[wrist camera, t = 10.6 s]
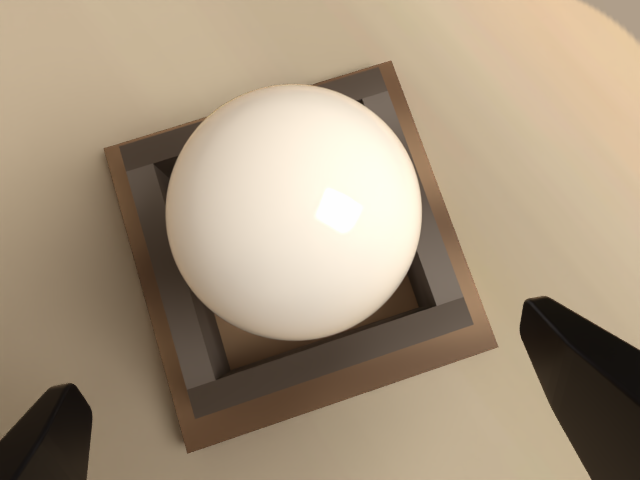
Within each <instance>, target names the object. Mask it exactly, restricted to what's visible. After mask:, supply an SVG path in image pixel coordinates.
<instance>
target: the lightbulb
mask: <svg viewBox="0 0 640 480" xmlns="http://www.w3.org/2000/svg"><path fill="white" fill-rule="evenodd" d="M165 221H166V231H167V237H168V242H169V246H170V249H171V252H172V255H173V258H174V261H175V263H176V265H177V267H178V269H179V272H180V273H181V275H182V277H183V279H184V280H185V282H186V283H187V285H188V286H189V288H190V289H191V290H192V292H193V293H194V294H195V295H196V296H197V298H198V299H199V300H200V301H201V302H202V303H203V304H204V305H205V306H206V307H207V308H209V309H210V310H211V311H212V312H213V313H215V314H216V315H217V316H219V317H220V318H221V319H223V320H224V321H226V322H228V323H229V324H231V325H233V326H235V327H237V328H239V329H241V330H243V331H245V332H248V333H251V334H254V335H257V336H260V337H264V338H269V339H274V340H282V341H306V340H315V339H320V338H325V337H329V336H332V335H335V334H338V333H341V332H343V331H346V330H348V329H350V328H352V327H354V326H356V325H357V324H359V323H361V322H362V321H364V320H365V319H367V318H368V317H370V316H371V315H372V314H374V313H375V312H376V311H377V310H378V309H380V308H381V307H382V306H383V305H384V304H385V303H386V302H387V301H388V300H389V298H390V297H391V296H392V295H393V294H394V292H395V291H396V290H397V288H398V287H399V286H400V284H401V283H402V281H403V279H404V278H405V276H406V274H407V272H408V270H409V268H410V266H411V264H412V262H413V259H414V256H415V254H416V250H417V247H418V243H419V239H420V233H421V225H422V200H421V192H420V187H419V182H418V178H417V175H416V172H415V169H414V166H413V164H412V161H411V159H410V157H409V155H408V153H407V151H406V149H405V148H404V146H403V144H402V143H401V141H400V140H399V138H398V137H397V136H396V134H395V133H394V132H393V131H392V129H391V128H390V127H389V126H388V125H387V124H386V123H385V122H384V121H383V120H382V119H381V118H380V117H379V116H378V115H376V114H375V113H374V112H373V111H371V110H370V109H369V108H367V107H366V106H364V105H363V104H361V103H359V102H358V101H356V100H354V99H352V98H350V97H348V96H346V95H344V94H341V93H339V92H336V91H333V90H330V89H326V88H323V87H318V86H312V85H303V84H283V85H274V86H268V87H264V88H260V89H256V90H253V91H250V92H247V93H245V94H243V95H240V96H238V97H236V98H234V99H232V100H230V101H229V102H227V103H225V104H224V105H222V106H221V107H219V108H218V109H217V110H215V111H214V112H213V113H212V114H210V115H209V116H208V117H207V118H206V119H205V120H204V121H203V122H202V123H201V124H200V125H199V126H198V127H197V128H196V130H195V131H194V132H193V133H192V135H191V136H190V137H189V139H188V140H187V142H186V143H185V145H184V146H183V148H182V150H181V152H180V154H179V156H178V158H177V160H176V162H175V164H174V167H173V170H172V173H171V176H170V180H169V184H168V189H167V195H166V205H165Z"/></svg>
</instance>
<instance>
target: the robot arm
mask: <svg viewBox="0 0 640 480" xmlns="http://www.w3.org/2000/svg"><path fill="white" fill-rule="evenodd" d="M520 335H521V339H522V341H523V343H524V346H525V348H526V350H527V353H528V355H529V358H530V360H531V362H532V365H533V367H534V369H535V372H536V374H537V376H538V379H539V381H540V383H541V386H542V388H543V390H544V393H545V395H546V397H547V399H548V402H549V404H550V406H551V408H552V410H553V412H554V414H555V416H556V417H557V419H558V421H559V423H560V425H561V426H562V428H563V430H564V432H565V433H566V435H567V437H568V439H569V441H570V442H571V444H572V446H573V448H574V449H575V451H576V453H577V455H578V456H579V458H580V460H581V462H582V464H583V465H584V467H585V469H586V471H587V472H588V474H589V476H590V478H591V480H640V350H639V349H637V348H636V347H634V346H632V345H630V344H629V343H627V342H625V341H624V340H622V339H620V338H618V337H617V336H615V335H613V334H611V333H610V332H608V331H606V330H605V329H603V328H601V327H599V326H598V325H596V324H594V323H593V322H591V321H589V320H587V319H586V318H584V317H582V316H581V315H579V314H577V313H575V312H574V311H572V310H570V309H568V308H567V307H565V306H563V305H562V304H560V303H558V302H556V301H555V300H553V299H551V298H549V297H547V296H540V297H535V298H529V299H527V300H525V302H524V304H523V310H522V316H521V322H520ZM91 429H92V411H91V408H90V406H89V405H88V403H87V401H86V400H85V398H84V397H83V395H82V394H81V392H80V391H79V389H78V388H77V386H76V385H74V384H72V383H67V384H62V385H57V386H53V387H50V388H49V389H48V390H47V391H46V392H45V393H44V394H43V395H42V396H41V397H40V398H39V399H38V400H37V401H36V403H35V404H34V405H33V406H32V407H31V408H30V409H29V410H28V411H27V412H26V413H25V414H24V416H23V417H22V418H21V419H20V420H19V421H18V422H17V423H16V424H15V425H14V426H13V427H12V429H11V430H10V431H9V432H8V433H7V434H6V435H5V436H4V437H3V438H2V439H1V440H0V480H87V470H88V460H89V450H90V439H91Z"/></svg>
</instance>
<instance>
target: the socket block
mask: <svg viewBox="0 0 640 480" xmlns="http://www.w3.org/2000/svg"><path fill="white" fill-rule="evenodd" d="M312 86H318V87H323V88H326V89H330V90H333V91H336V92H339V93H341V94H344V95H346V96H348V97H350V98H352V99H354V100H356V101H358V102H359V103H361V104H363V105H364V106H366V107H367V108H369V109H370V110H371V111H373V112H374V113H375V114H376V115H378V116H379V117H380V118H381V119H382V120H383V121H384V122H385V123H386V124H387V125H388V126H389V127H390V128H391V129H392V131H393V132H394V133H395V134H396V136H397V137H398V138H399V140H400V141H401V143H402V144H403V146H404V148H405V149H406V151H407V153H408V155H409V157H410V159H411V161H412V164H413V166H414V169H415V172H416V175H417V178H418V182H419V187H420V192H421V200H422V225H421V233H420V239H419V243H418V247H417V250H416V254H415V256H414V259H413V262H412V264H411V266H410V268H409V270H408V272H407V274H406V276H405V278H404V279H403V281H402V283H401V284H400V286H399V287H398V288H397V290H396V291H395V292H394V294H393V295H392V296H391V297H390V298H389V300H388V301H387V302H386V303H385V304H384V305H383V306H382V307H381V308H380V309H378V310H377V311H376V312H375V313H374V314H372V315H371V316H370V317H368V318H367V319H365V320H364V321H362V322H361V323H359V324H357V325H356V326H354V327H352V328H350V329H348V330H346V331H343V332H341V333H338V334H335V335H332V336H329V337H325V338H320V339H315V340H306V341H282V340H274V339H269V338H264V337H260V336H257V335H254V334H251V333H248V332H245V331H243V330H241V329H239V328H237V327H235V326H233V325H231V324H229V323H228V322H226V321H224V320H223V319H221V318H220V317H219V316H217V315H216V314H215V313H213V312H212V311H211V310H210V309H209V308H207V307H206V306H205V305H204V304H203V303H202V302H201V301H200V300H199V299H198V298H197V296H196V295H195V294H194V293H193V292H192V290H191V289H190V288H189V286H188V285H187V283H186V282H185V280H184V279H183V277H182V275H181V273H180V272H179V269H178V267H177V265H176V263H175V261H174V258H173V255H172V252H171V249H170V246H169V242H168V237H167V231H166V221H165V205H166V195H167V189H168V184H169V180H170V176H171V173H172V170H173V167H174V164H175V162H176V160H177V158H178V156H179V154H180V152H181V150H182V148H183V146H184V145H185V143H186V142H187V140H188V139H189V137H190V136H191V135H192V133H193V132H194V131H195V130H196V128H197V127H198V126H199V125H200V124H201V123H202V122H203V121H204V120H205V119H206V118H207V117H205V118H202V119H199V120H195V121H192V122H189V123H185V124H182V125H179V126H176V127H172V128H169V129H166V130H163V131H159V132H156V133H153V134H150V135H146V136H143V137H140V138H136V139H133V140H130V141H127V142H123V143H120V144H117V145H114V146H110V147H107V148H104V151H105V155H106V158H107V162H108V166H109V169H110V173H111V177H112V180H113V184H114V187H115V191H116V195H117V198H118V202H119V206H120V209H121V213H122V217H123V220H124V224H125V228H126V231H127V235H128V239H129V242H130V246H131V249H132V253H133V257H134V260H135V264H136V268H137V271H138V275H139V279H140V282H141V286H142V290H143V293H144V297H145V301H146V304H147V308H148V311H149V315H150V319H151V322H152V326H153V330H154V333H155V337H156V341H157V344H158V348H159V352H160V355H161V359H162V363H163V366H164V370H165V373H166V377H167V381H168V384H169V388H170V392H171V395H172V399H173V403H174V406H175V410H176V414H177V417H178V421H179V425H180V428H181V432H182V435H183V439H184V443H185V446H186V450H187V454H188V453H191V452H194V451H197V450H200V449H202V448H205V447H208V446H211V445H214V444H217V443H220V442H223V441H226V440H229V439H232V438H235V437H237V436H240V435H243V434H246V433H249V432H252V431H255V430H258V429H261V428H264V427H267V426H270V425H272V424H275V423H278V422H281V421H284V420H287V419H290V418H293V417H296V416H299V415H302V414H305V413H307V412H310V411H313V410H316V409H319V408H322V407H325V406H328V405H331V404H334V403H337V402H340V401H342V400H345V399H348V398H351V397H354V396H357V395H360V394H363V393H366V392H369V391H372V390H375V389H377V388H380V387H383V386H386V385H389V384H392V383H395V382H398V381H401V380H404V379H407V378H410V377H412V376H415V375H418V374H421V373H424V372H427V371H430V370H433V369H436V368H439V367H442V366H445V365H448V364H450V363H453V362H456V361H459V360H462V359H465V358H468V357H471V356H474V355H477V354H480V353H483V352H485V351H488V350H491V349H494V348H497V347H498V345H497V342H496V339H495V337H494V334H493V331H492V329H491V326H490V323H489V321H488V318H487V315H486V313H485V310H484V307H483V305H482V302H481V299H480V297H479V294H478V291H477V289H476V286H475V283H474V281H473V278H472V275H471V273H470V270H469V267H468V265H467V262H466V259H465V257H464V254H463V251H462V249H461V246H460V243H459V240H458V238H457V235H456V232H455V230H454V227H453V224H452V222H451V219H450V216H449V214H448V211H447V208H446V206H445V203H444V200H443V198H442V195H441V192H440V190H439V187H438V184H437V182H436V179H435V176H434V174H433V171H432V168H431V166H430V163H429V160H428V158H427V155H426V152H425V150H424V147H423V144H422V142H421V139H420V136H419V133H418V131H417V128H416V125H415V123H414V120H413V117H412V115H411V112H410V109H409V107H408V104H407V101H406V99H405V96H404V93H403V91H402V88H401V85H400V83H399V80H398V77H397V75H396V72H395V69H394V67H393V64H392V61H388V62H385V63H382V64H378V65H375V66H372V67H369V68H365V69H362V70H359V71H355V72H352V73H349V74H346V75H342V76H339V77H336V78H333V79H329V80H326V81H323V82H319V83H316V84H313V85H312Z"/></svg>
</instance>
